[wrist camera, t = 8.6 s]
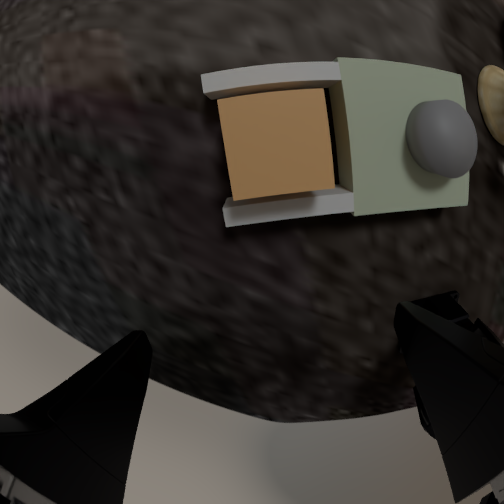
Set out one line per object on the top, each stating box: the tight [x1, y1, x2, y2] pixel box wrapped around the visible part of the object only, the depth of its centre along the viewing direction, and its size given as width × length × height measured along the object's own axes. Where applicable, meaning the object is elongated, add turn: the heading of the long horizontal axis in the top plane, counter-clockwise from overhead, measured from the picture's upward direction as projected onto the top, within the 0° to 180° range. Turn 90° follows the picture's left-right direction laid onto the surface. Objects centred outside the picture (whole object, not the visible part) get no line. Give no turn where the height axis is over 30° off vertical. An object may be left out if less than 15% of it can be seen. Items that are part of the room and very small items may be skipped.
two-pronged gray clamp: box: [201, 57, 477, 227], centre depth 15 cm, size 18×10×5 cm, turn 98°
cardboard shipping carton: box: [217, 88, 335, 201], centre depth 15 cm, size 5×5×6 cm
